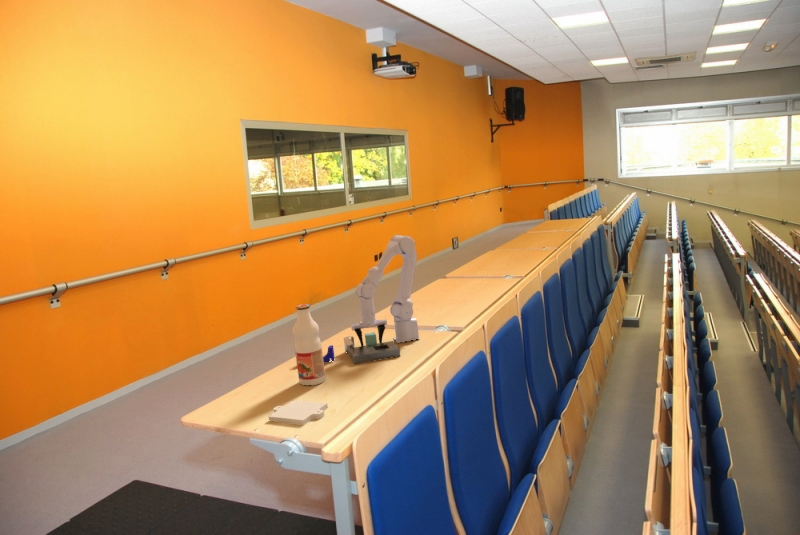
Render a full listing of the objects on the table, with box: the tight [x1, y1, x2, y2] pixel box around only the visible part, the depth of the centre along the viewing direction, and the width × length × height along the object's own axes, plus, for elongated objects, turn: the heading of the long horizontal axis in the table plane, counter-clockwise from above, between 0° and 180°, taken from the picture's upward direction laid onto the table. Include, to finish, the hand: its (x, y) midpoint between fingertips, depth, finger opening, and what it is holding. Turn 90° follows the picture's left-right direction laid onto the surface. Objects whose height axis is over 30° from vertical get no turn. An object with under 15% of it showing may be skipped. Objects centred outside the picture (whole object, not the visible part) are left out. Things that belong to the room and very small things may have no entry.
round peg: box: [343, 335, 356, 354], centre depth 247 cm, size 4×4×6 cm
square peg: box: [364, 331, 378, 346], centre depth 249 cm, size 4×4×6 cm
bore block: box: [348, 340, 401, 365], centre depth 239 cm, size 18×12×3 cm, turn 103°
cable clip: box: [323, 345, 336, 363], centre depth 238 cm, size 12×4×6 cm, turn 86°
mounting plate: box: [268, 399, 329, 426], centre depth 188 cm, size 18×13×2 cm
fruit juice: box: [292, 303, 326, 387], centre depth 215 cm, size 9×9×28 cm
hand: (371, 344), depth 249 cm, fingers open, 7 cm apart
